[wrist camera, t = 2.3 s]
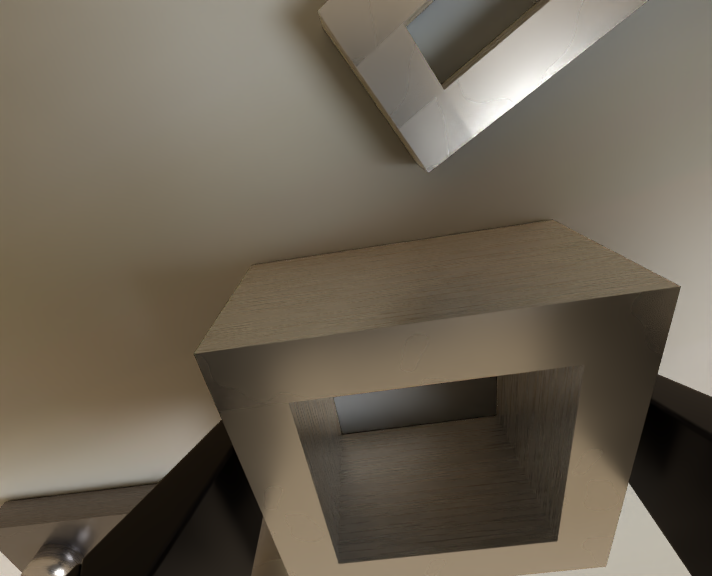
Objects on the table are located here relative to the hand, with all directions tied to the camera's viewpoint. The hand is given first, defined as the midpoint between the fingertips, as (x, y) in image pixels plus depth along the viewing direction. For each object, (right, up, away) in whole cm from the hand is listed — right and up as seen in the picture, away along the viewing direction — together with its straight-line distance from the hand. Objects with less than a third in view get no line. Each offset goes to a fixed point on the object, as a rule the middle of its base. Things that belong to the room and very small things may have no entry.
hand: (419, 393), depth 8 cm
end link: (0, 0, +1) cm, 1 cm away
